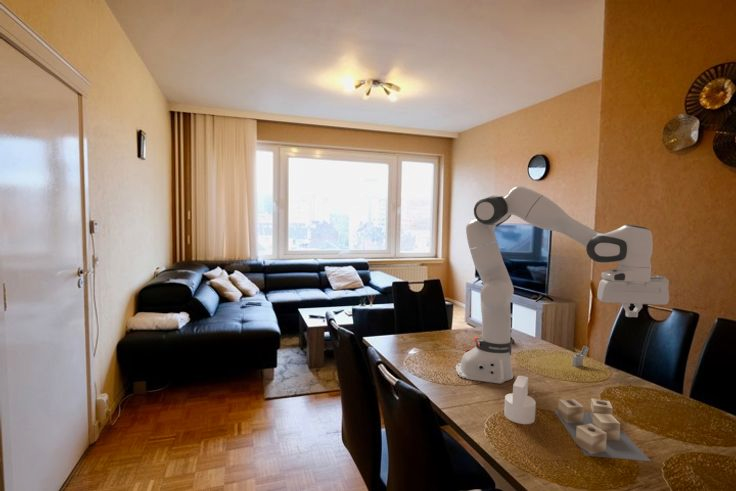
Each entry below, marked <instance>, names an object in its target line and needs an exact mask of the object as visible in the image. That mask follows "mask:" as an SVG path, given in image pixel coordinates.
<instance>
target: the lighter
mask: <svg viewBox="0 0 736 491" xmlns="http://www.w3.org/2000/svg"><path fill="white" fill-rule="evenodd" d="M589 349H590V347H588V346H586V345H583V346H582V348H581V352H580V353H579V352H576V353H575V354H574V355H572V366H573V367H576V368H577V367H582V366H584V365H583V364H584V357H585V358H586V357H587V355H588V352H589Z"/></svg>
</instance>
